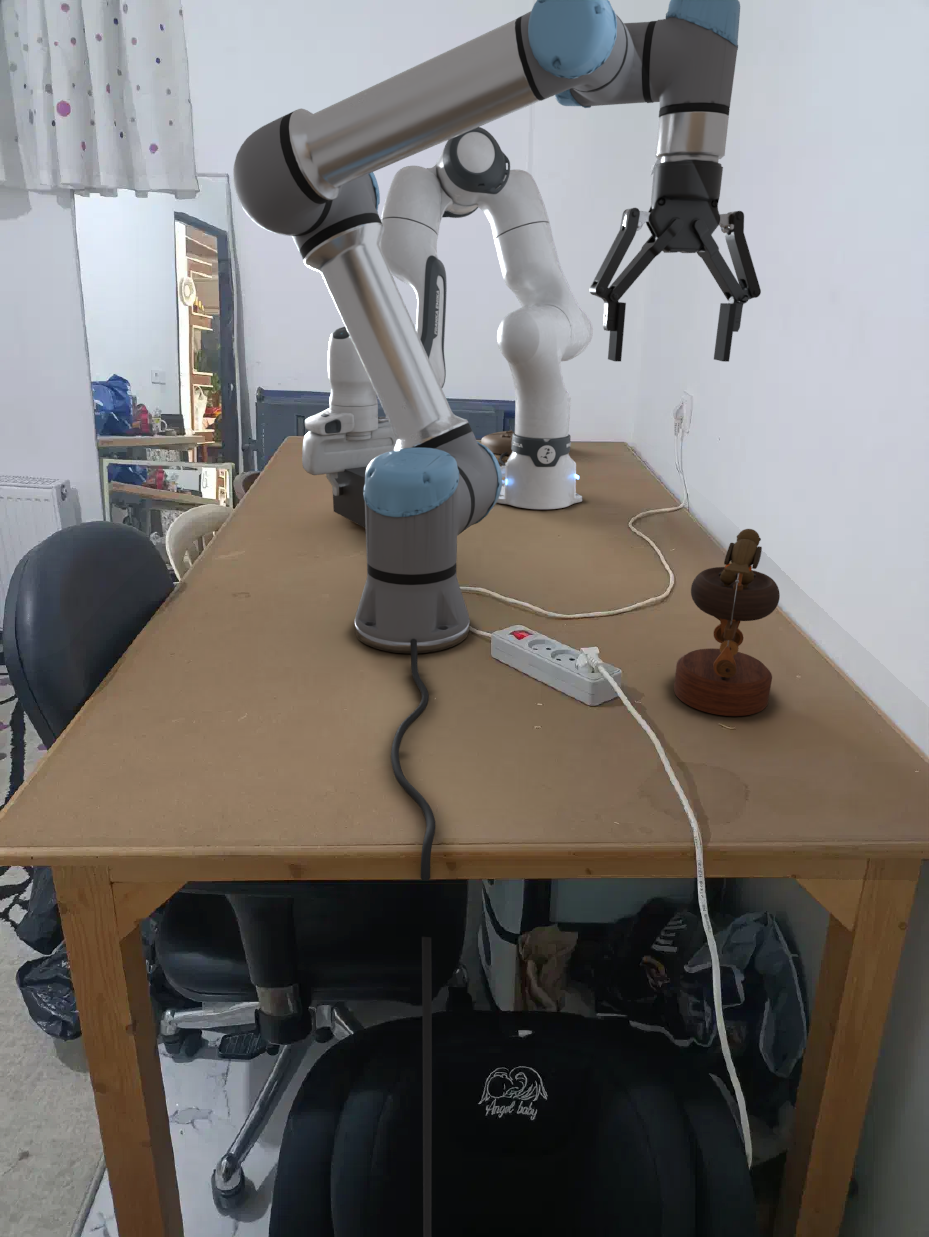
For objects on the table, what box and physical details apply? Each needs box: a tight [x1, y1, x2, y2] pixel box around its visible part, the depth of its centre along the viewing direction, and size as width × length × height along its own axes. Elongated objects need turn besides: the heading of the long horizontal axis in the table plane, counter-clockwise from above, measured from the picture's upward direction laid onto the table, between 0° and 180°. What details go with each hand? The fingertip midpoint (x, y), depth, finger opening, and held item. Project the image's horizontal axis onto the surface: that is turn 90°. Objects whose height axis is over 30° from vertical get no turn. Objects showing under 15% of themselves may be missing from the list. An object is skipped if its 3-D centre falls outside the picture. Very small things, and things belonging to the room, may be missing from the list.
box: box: [332, 467, 367, 529], centre depth 155 cm, size 24×6×9 cm, turn 34°
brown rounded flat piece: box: [480, 429, 515, 456], centre depth 224 cm, size 21×28×4 cm
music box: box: [673, 528, 781, 717], centre depth 94 cm, size 15×11×20 cm
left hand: (668, 360), depth 102 cm, fingers open, 13 cm apart
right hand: (356, 492), depth 161 cm, fingers closed on box, 6 cm apart
